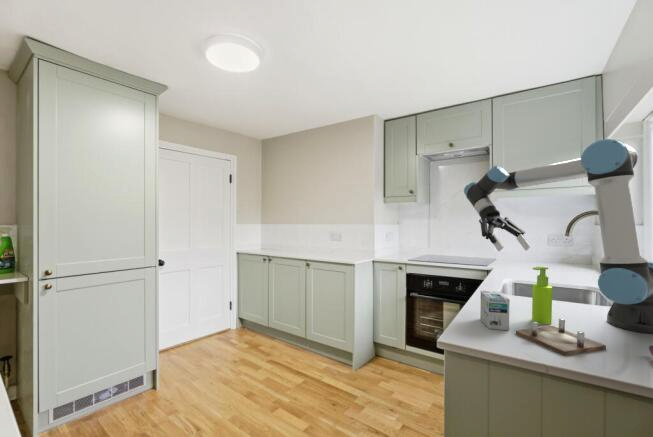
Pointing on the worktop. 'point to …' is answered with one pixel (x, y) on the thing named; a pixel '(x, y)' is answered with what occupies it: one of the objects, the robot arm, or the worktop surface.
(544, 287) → the soap dispenser
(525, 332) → the locator board
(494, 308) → the light bulb box
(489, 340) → the worktop surface
